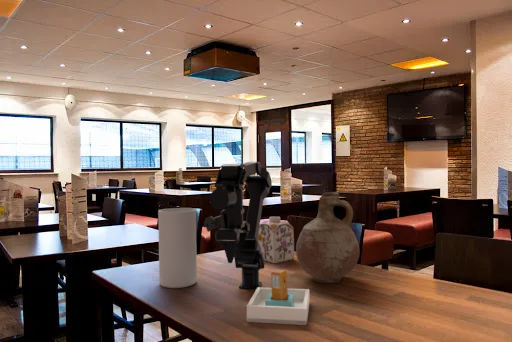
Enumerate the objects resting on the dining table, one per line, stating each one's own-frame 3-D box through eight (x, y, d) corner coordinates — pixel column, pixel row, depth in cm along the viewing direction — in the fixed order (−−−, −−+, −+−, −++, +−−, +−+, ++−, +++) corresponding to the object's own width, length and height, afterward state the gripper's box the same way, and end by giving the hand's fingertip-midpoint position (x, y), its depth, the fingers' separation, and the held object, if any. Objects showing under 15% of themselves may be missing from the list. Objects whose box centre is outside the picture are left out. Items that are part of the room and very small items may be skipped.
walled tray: (257, 300, 116) (257, 287, 116) (309, 303, 114) (309, 289, 114) (246, 321, 101) (246, 306, 101) (306, 325, 98) (306, 308, 98)
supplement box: (278, 305, 110) (277, 268, 110) (288, 307, 108) (288, 270, 108) (271, 308, 107) (270, 271, 107) (281, 311, 105) (281, 273, 105)
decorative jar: (276, 255, 177) (275, 214, 177) (295, 259, 168) (294, 217, 168) (255, 259, 170) (255, 217, 169) (274, 264, 161) (273, 219, 160)
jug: (303, 269, 151) (302, 190, 151) (362, 273, 144) (361, 191, 144) (289, 285, 131) (288, 194, 131) (356, 291, 124) (355, 195, 123)
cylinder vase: (170, 291, 127) (169, 212, 127) (153, 283, 136) (152, 210, 136) (203, 283, 135) (202, 209, 135) (185, 276, 144) (184, 207, 144)
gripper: (215, 203, 128) (216, 252, 128) (196, 209, 110) (197, 266, 110) (249, 203, 126) (250, 252, 126) (236, 209, 108) (236, 267, 108)
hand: (233, 259), depth 118 cm, fingers open, 9 cm apart
